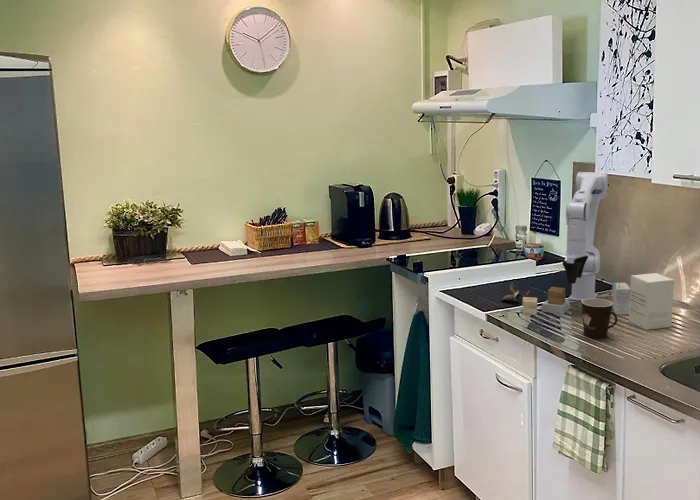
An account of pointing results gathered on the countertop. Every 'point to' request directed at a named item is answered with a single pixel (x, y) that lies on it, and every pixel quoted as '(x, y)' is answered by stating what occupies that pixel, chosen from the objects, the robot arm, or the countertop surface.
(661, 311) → the supplement box
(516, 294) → the eagle figurine
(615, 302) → the medicine box
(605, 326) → the coffee mug
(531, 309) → the birch cube
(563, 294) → the walnut cube
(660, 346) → the countertop surface
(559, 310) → the slate block
